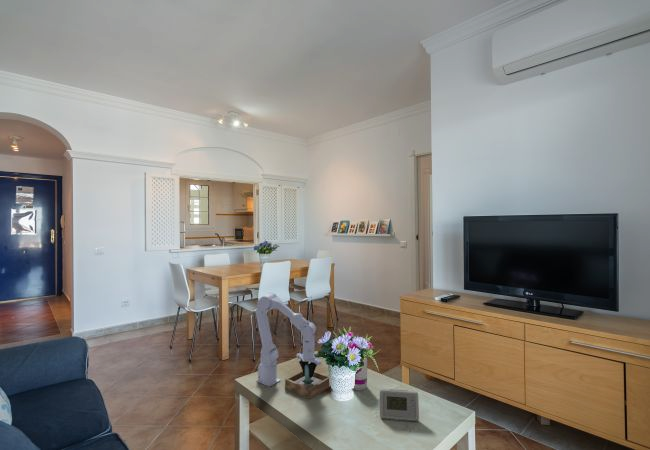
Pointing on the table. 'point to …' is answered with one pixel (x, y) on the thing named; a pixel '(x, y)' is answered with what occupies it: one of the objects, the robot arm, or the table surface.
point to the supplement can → (361, 377)
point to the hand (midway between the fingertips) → (308, 376)
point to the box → (307, 390)
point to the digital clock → (399, 405)
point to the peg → (307, 375)
